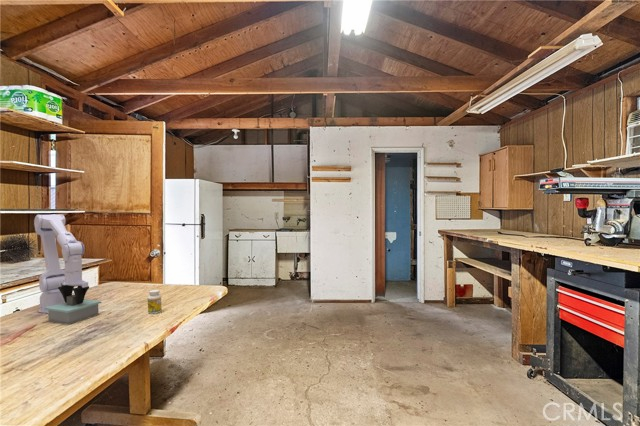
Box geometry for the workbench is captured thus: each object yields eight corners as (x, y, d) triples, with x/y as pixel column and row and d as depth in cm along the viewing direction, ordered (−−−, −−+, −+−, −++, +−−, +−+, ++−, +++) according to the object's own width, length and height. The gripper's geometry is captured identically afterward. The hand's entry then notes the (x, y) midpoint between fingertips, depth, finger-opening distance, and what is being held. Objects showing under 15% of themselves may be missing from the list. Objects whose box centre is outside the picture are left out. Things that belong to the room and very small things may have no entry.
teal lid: (44, 309, 128) (44, 298, 128) (79, 300, 141) (79, 290, 141) (68, 312, 124) (67, 301, 124) (101, 302, 137) (101, 292, 137)
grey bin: (48, 321, 129) (48, 309, 129) (78, 311, 140) (78, 300, 140) (69, 324, 125) (68, 312, 125) (98, 314, 136) (98, 303, 136)
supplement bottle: (164, 310, 141) (163, 289, 141) (154, 314, 136) (154, 292, 136) (154, 309, 143) (154, 288, 143) (145, 313, 138) (144, 292, 138)
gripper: (51, 271, 131) (51, 304, 131) (75, 274, 126) (76, 307, 126) (69, 268, 137) (69, 299, 137) (93, 270, 133) (93, 302, 133)
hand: (73, 302), depth 132 cm, fingers open, 6 cm apart
